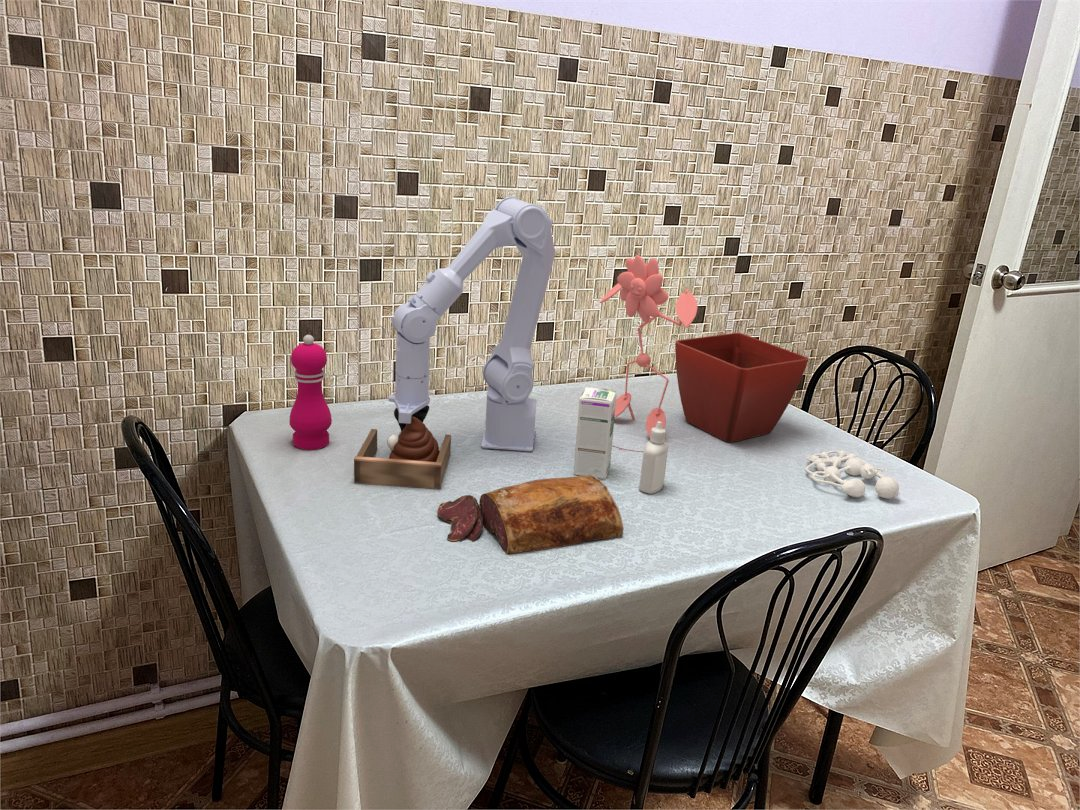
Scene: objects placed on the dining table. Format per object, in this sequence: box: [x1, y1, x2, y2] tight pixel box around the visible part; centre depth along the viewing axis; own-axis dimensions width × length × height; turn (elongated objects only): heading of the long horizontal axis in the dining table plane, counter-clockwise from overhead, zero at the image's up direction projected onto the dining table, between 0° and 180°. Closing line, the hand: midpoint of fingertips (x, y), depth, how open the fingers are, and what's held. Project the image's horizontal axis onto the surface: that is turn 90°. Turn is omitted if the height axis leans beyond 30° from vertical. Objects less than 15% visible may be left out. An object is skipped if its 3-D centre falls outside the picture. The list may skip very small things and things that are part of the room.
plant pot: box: [674, 332, 810, 443], centre depth 169 cm, size 19×19×17 cm
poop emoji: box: [386, 416, 440, 462], centre depth 143 cm, size 10×8×9 cm
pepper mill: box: [289, 334, 333, 451], centre depth 147 cm, size 7×7×20 cm
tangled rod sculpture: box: [804, 450, 900, 499], centre depth 152 cm, size 19×14×4 cm
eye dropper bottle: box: [638, 421, 669, 495], centre depth 141 cm, size 4×6×12 cm
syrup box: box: [573, 387, 617, 480], centre depth 145 cm, size 6×6×14 cm
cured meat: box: [437, 475, 624, 555], centre depth 127 cm, size 18×25×7 cm
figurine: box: [599, 254, 699, 453], centre depth 159 cm, size 15×26×35 cm, turn 36°
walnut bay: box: [353, 428, 452, 490], centre depth 143 cm, size 14×14×4 cm
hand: (411, 446), depth 149 cm, fingers closed
